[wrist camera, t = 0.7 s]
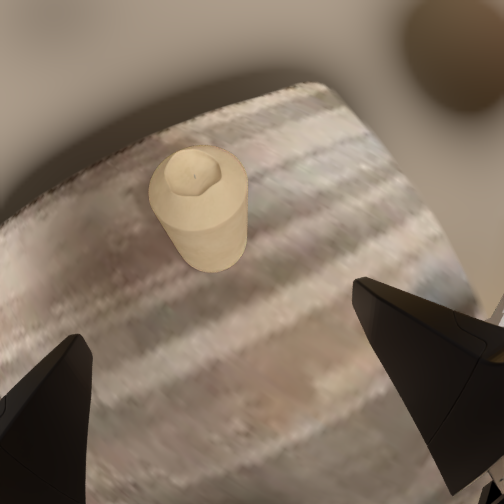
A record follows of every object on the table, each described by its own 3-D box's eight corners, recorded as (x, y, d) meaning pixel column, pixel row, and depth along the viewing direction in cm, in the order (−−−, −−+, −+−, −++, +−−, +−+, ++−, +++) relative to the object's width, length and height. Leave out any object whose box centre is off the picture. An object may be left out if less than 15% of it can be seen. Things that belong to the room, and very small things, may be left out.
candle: (259, 228, 24) (268, 152, 15) (224, 286, 23) (208, 239, 13) (202, 198, 25) (182, 117, 16) (165, 252, 24) (120, 189, 14)
